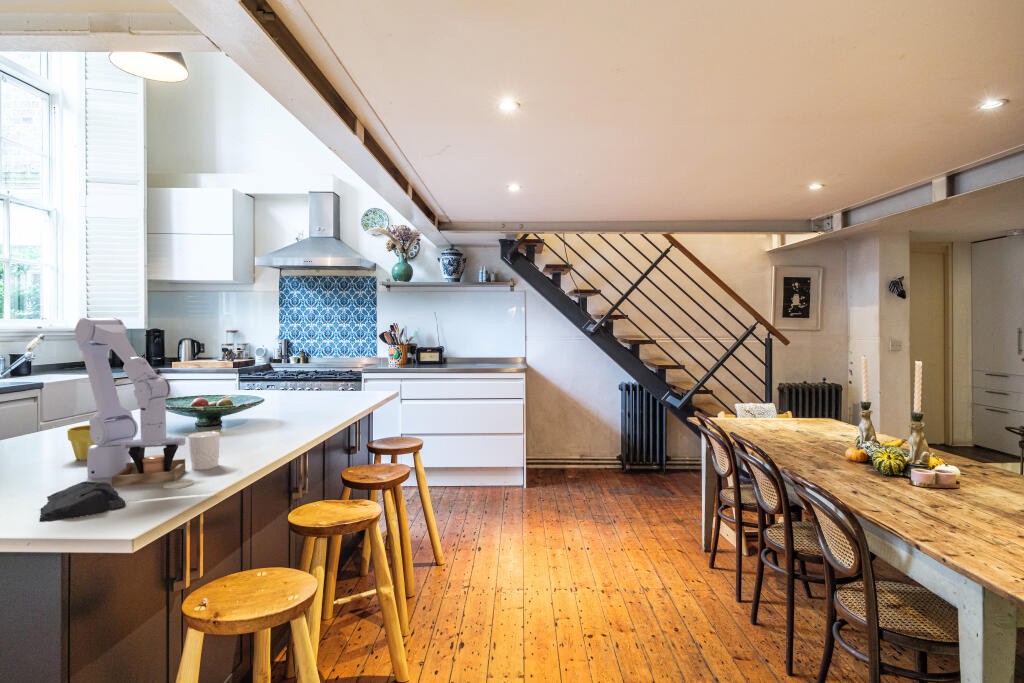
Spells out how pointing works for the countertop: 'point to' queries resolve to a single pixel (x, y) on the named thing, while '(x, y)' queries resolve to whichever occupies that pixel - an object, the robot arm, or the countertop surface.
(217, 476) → the countertop surface
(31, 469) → the countertop surface
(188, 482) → the saucer
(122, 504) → the dark slate chunk
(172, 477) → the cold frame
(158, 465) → the tan bell-shaped knob
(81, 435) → the plant pot
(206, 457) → the white cup
